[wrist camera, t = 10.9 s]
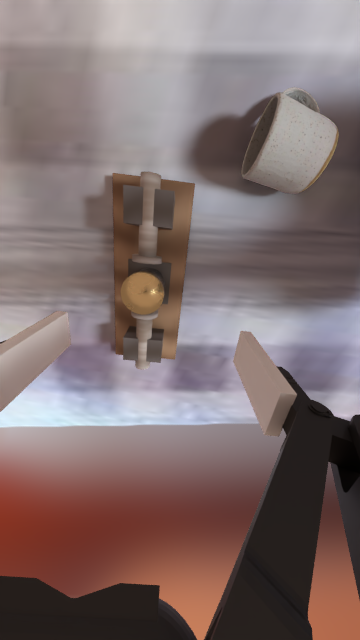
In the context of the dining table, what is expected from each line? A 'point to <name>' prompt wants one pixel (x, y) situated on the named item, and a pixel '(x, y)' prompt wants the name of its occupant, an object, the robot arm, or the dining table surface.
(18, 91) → the dining table surface
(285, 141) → the ceramic mug
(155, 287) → the knob
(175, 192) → the shaft bench
